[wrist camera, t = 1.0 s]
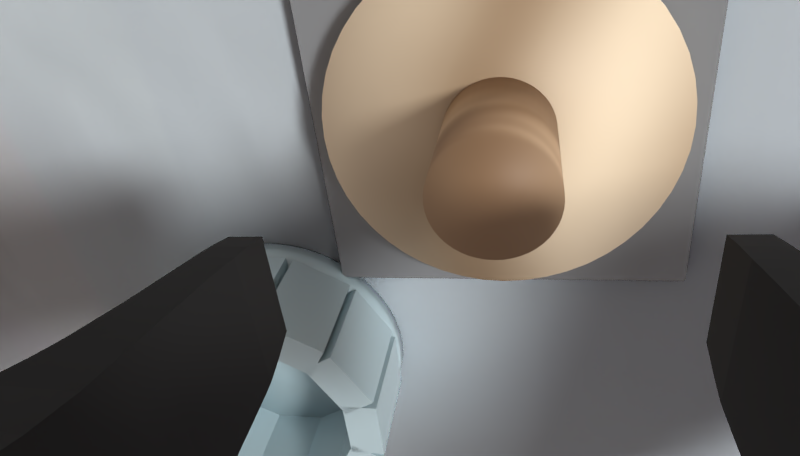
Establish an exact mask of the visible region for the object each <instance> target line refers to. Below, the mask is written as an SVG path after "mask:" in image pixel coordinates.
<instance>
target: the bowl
mask: <svg viewBox="0 0 800 456" xmlns="http://www.w3.org/2000/svg"><path fill="white" fill-rule="evenodd" d="M264 247H265V250H266V254H267V258H268V262H269V265H270V269H271V273H272V277H273V281H274V284H275V288H276V292H277V296H278V299H279V303H280V307H281V311H282V315H283V318H284V322H285V326H286V330H287V332H286V336H285V339H284V343H283V346H282V350H281V353H280V357H279V360H278V363H277V366H276V369H275V372H274V376H273V379H272V382H271V384H270V387H269V389H268V391H267V393H266V396H265V398H264V400H263V402H262V404H261V407H260V409H259V411H258V413H257V415H256V417H255V420H254V422H253V424H252V426H251V428H250V430H249V433H248V435H247V437H246V439H245V441H244V443H243V445H242V447H241V450H240V452H239V454H238V456H384V455H385V450H386V446H387V442H388V437H389V433H390V429H391V424H392V420H393V416H394V411H395V407H396V403H397V398H398V394H399V390H400V385H401V381H402V380H401V373H400V371H401V367H402V360H403V343H402V338H401V334H400V330H399V327H398V325H397V322H396V320H395V318H394V316H393V314H392V312H391V311H390V309H389V307H388V306H387V304H386V303H385V302H384V300H383V299H382V298H381V296H380V295H379V294H378V293H377V292H376V291H375V290H374V289H373V288H372V287H371V286H370V285H369V284H368V283H367V282H366V281H364V280H363V279H362V278H361V277H346V276H345V275H343V274H342V269H341V264H340V263H338V262H336V261H334V260H332V259H330V258H328V257H326V256H323V255H321V254H318V253H316V252H313V251H310V250H306V249H303V248H299V247H294V246H288V245H283V244H267V243H265V244H264Z"/></svg>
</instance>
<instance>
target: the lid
mask: <svg viewBox="0 0 800 456" xmlns="http://www.w3.org/2000/svg"><path fill="white" fill-rule="evenodd" d="M696 116H697V90H696V78H695V73H694V69H693V65H692V61H691V57H690V52H689V50H688V48H687V45H686V43H685V40H684V38H683V36H682V33H681V31H680V28H679V27H678V25H677V24H676V22H675V20H674V19H673V17H672V15H671V14H670V12H669V11H668V9H667V7H666V6H665V5H664V3H663V2H662V1H661V0H362V1H361V3H360V4H359V5H358V6H357V7H356V8H355V10H354V12H353V13H352V15H351V16H350V18H349V19H348V21H347V23H346V24H345V26H344V27H343V29H342V31H341V33H340V35H339V37H338V39H337V42H336V44H335V46H334V48H333V50H332V53H331V57H330V60H329V63H328V67H327V70H326V74H325V80H324V87H323V93H322V124H323V132H324V140H325V144H326V148H327V151H328V155H329V159H330V162H331V164H332V167H333V169H334V172H335V174H336V177H337V179H338V181H339V183H340V185H341V187H342V188H343V190H344V192H345V194H346V196H347V197H348V199H349V200H350V201H351V203H352V204H353V206H354V207H355V208H356V210H357V211H358V213H359V214H360V215H361V216H362V217H363V218H364V219H365V220H366V221H367V223H368V224H369V225H370V226H371V227H372V228H373V229H374V230H375V231H377V232H378V233H379V234H380V235H381V236H382V237H383V238H385V239H386V240H387V241H388V242H390V243H391V244H392V245H394V246H395V247H397V248H398V249H400V250H401V251H403V252H404V253H406V254H408V255H410V256H411V257H413V258H415V259H417V260H419V261H421V262H423V263H425V264H428V265H430V266H433V267H435V268H438V269H440V270H443V271H446V272H450V273H453V274H457V275H461V276H465V277H471V278H477V279H484V280H499V281H511V280H528V279H535V278H541V277H547V276H551V275H555V274H559V273H563V272H567V271H569V270H572V269H575V268H577V267H580V266H583V265H585V264H588V263H590V262H592V261H594V260H596V259H598V258H600V257H602V256H604V255H606V254H607V253H609V252H610V251H612V250H613V249H615V248H616V247H618V246H620V245H621V244H623V243H624V242H626V241H627V240H628V239H629V238H630V237H631V236H633V235H634V234H635V233H636V232H637V231H639V230H640V229H641V228H642V227H643V226H644V225H645V224H646V223H647V222H648V221H649V220H650V219H651V218H652V217H653V215H654V214H655V213H656V212H657V211H658V210H659V209H660V207H661V206H662V204H663V203H664V202H665V200H666V199H667V197H668V196H669V195H670V193H671V192H672V190H673V188H674V186H675V184H676V183H677V181H678V179H679V177H680V175H681V173H682V171H683V169H684V166H685V163H686V161H687V158H688V155H689V153H690V150H691V146H692V141H693V137H694V132H695V127H696Z"/></svg>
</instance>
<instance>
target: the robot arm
mask: <svg viewBox="0 0 800 456" xmlns="http://www.w3.org/2000/svg"><path fill="white" fill-rule="evenodd" d="M286 332H287V330H286V326H285V322H284V318H283V315H282V311H281V307H280V303H279V299H278V296H277V292H276V288H275V284H274V281H273V277H272V273H271V269H270V265H269V262H268V258H267V254H266V250H265V247H264V243H263V239H262V237H228V238H226V239H224V240H222V241H220V242H218V243H216V244H214V245H213V246H211V247H209V248H208V249H206V250H204V251H203V252H201V253H200V254H198V255H196V256H195V257H193V258H192V259H190V260H188V261H187V262H185V263H184V264H182V265H181V266H179V267H178V268H176V269H175V270H173V271H172V272H170V273H168V274H167V275H165V276H164V277H162V278H161V279H159V280H158V281H156V282H155V283H153V284H151V285H150V286H148V287H147V288H145V289H144V290H142V291H141V292H139V293H138V294H136V295H135V296H133V297H131V298H130V299H128V300H127V301H125V302H124V303H122V304H120V305H119V306H117V307H115V308H114V309H112V310H110V311H109V312H107V313H105V314H104V315H102V316H100V317H99V318H97V319H95V320H94V321H92V322H91V323H89V324H87V325H86V326H84V327H82V328H81V329H79V330H77V331H76V332H74V333H72V334H71V335H69V336H67V337H66V338H64V339H62V340H60V341H59V342H57V343H55V344H53V345H51V346H50V347H48V348H46V349H44V350H42V351H40V352H39V353H37V354H35V355H33V356H31V357H29V358H27V359H25V360H23V361H22V362H20V363H18V364H16V365H14V366H12V367H10V368H8V369H6V370H4V371H2V372H0V456H238V454H239V452H240V450H241V447H242V445H243V443H244V441H245V439H246V437H247V435H248V433H249V430H250V428H251V426H252V424H253V422H254V420H255V417H256V415H257V413H258V411H259V409H260V407H261V404H262V402H263V400H264V398H265V396H266V393H267V391H268V389H269V387H270V384H271V382H272V379H273V376H274V372H275V369H276V366H277V363H278V360H279V357H280V353H281V350H282V346H283V343H284V339H285V336H286ZM707 346H708V351H709V355H710V360H711V364H712V369H713V373H714V377H715V381H716V385H717V389H718V393H719V397H720V401H721V404H722V407H723V410H724V413H725V415H726V418H727V421H728V423H729V426H730V428H731V431H732V434H733V436H734V439H735V441H736V444H737V447H738V449H739V452H740V454H741V456H800V251H799V250H797V249H796V248H794V247H793V246H791V245H790V244H788V243H786V242H785V241H783V240H782V239H780V238H778V237H777V236H775V235H727V236H726V241H725V247H724V252H723V257H722V263H721V268H720V274H719V279H718V284H717V290H716V295H715V300H714V306H713V311H712V316H711V322H710V327H709V332H708V338H707Z"/></svg>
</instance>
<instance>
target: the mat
mask: <svg viewBox="0 0 800 456" xmlns="http://www.w3.org/2000/svg"><path fill="white" fill-rule="evenodd" d="M361 1H362V0H290V4H291V9H292V14H293V19H294V25H295V30H296V35H297V40H298V45H299V50H300V56H301V61H302V66H303V71H304V76H305V82H306V87H307V92H308V97H309V102H310V108H311V113H312V118H313V123H314V128H315V134H316V139H317V144H318V149H319V154H320V160H321V165H322V170H323V175H324V180H325V185H326V191H327V196H328V201H329V206H330V211H331V217H332V222H333V227H334V232H335V237H336V243H337V248H338V253H339V258H340V263H341V269H342V274H343V275H345V276H346V277H373V278H460V279H477V278H471V277H465V276H461V275H457V274H453V273H450V272H446V271H443V270H440V269H438V268H435V267H433V266H430V265H428V264H425V263H423V262H421V261H419V260H417V259H415V258H413V257H411V256H410V255H408V254H406V253H404V252H403V251H401V250H400V249H398V248H397V247H395V246H394V245H392V244H391V243H390V242H388V241H387V240H386V239H385V238H383V237H382V236H381V235H380V234H379V233H378V232H377V231H375V230H374V229H373V228H372V227H371V226H370V225H369V224H368V223H367V221H366V220H365V219H364V218H363V217H362V216H361V215H360V214H359V213H358V211H357V210H356V208H355V207H354V206H353V204H352V203H351V201H350V200H349V199H348V197H347V196H346V194H345V192H344V190H343V188H342V187H341V185H340V183H339V181H338V179H337V177H336V174H335V172H334V169H333V167H332V164H331V162H330V159H329V155H328V151H327V148H326V144H325V140H324V132H323V124H322V93H323V87H324V80H325V74H326V70H327V67H328V63H329V60H330V57H331V53H332V50H333V48H334V46H335V44H336V42H337V39H338V37H339V35H340V33H341V31H342V29H343V27H344V26H345V24H346V23H347V21H348V19H349V18H350V16H351V15H352V13H353V12H354V10H355V8H356V7H357V6H358V5H359V4H360V3H361ZM661 1H662V2H663V3H664V5H665V6H666V7H667V9H668V11H669V12H670V14H671V15H672V17H673V19H674V20H675V22H676V24H677V25H678V27H679V28H680V31H681V33H682V36H683V38H684V40H685V43H686V45H687V48H688V50H689V52H690V57H691V61H692V65H693V69H694V73H695V78H696V90H697V116H696V127H695V132H694V137H693V141H692V146H691V150H690V153H689V155H688V158H687V161H686V163H685V166H684V169H683V171H682V173H681V175H680V177H679V179H678V181H677V183H676V184H675V186H674V188H673V190H672V192H671V193H670V195H669V196H668V197H667V199H666V200H665V202H664V203H663V204H662V206H661V207H660V209H659V210H658V211H657V212H656V213H655V214H654V215H653V217H652V218H651V219H650V220H649V221H648V222H647V223H646V224H645V225H644V226H643V227H642V228H641V229H640V230H639V231H637V232H636V233H635V234H634V235H633V236H631V237H630V238H629V239H628V240H627V241H626V242H624V243H623V244H621V245H620V246H618V247H616V248H615V249H613V250H612V251H610V252H609V253H607V254H606V255H604V256H602V257H600V258H598V259H596V260H594V261H592V262H590V263H588V264H585V265H583V266H580V267H577V268H575V269H572V270H569V271H567V272H563V273H559V274H555V275H551V276H547V277H541V278H535V279H548V280H636V281H685V279H686V272H687V266H688V259H689V253H690V246H691V240H692V233H693V227H694V220H695V213H696V207H697V200H698V194H699V187H700V181H701V174H702V168H703V161H704V155H705V148H706V142H707V135H708V129H709V122H710V116H711V109H712V103H713V96H714V90H715V83H716V76H717V70H718V63H719V57H720V50H721V44H722V37H723V31H724V24H725V18H726V11H727V5H728V0H661Z"/></svg>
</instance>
